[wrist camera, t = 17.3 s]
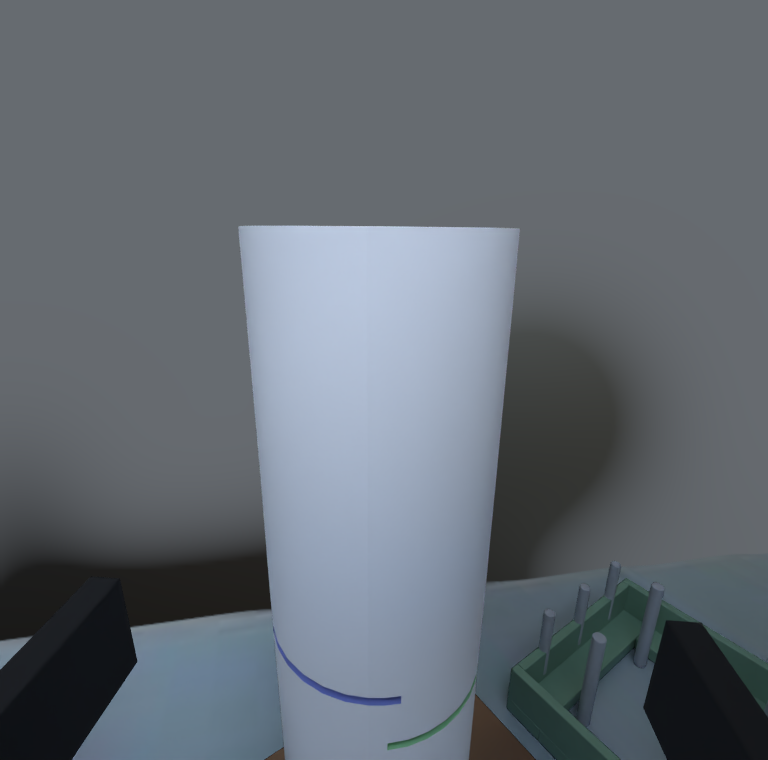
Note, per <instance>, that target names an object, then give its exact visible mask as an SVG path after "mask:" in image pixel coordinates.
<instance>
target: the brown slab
mask: <svg viewBox="0 0 768 760" xmlns="http://www.w3.org/2000/svg"><path fill="white" fill-rule="evenodd" d="M265 760H285V754H284V747H283V748H281V749H280V750H278V751H277V752H275V753H274V754H272V755H271V756H269V757H268V758H266V759H265ZM469 760H536V759H535V758H534V757H533V756H532V755H531V754H530V753H529V752H528V751H527V750H526V748H525V747H524V746H523V745H522V744H521V743H520V742H519V741H518V740H517V739H516V738H515V737H514V735H513V734H512V733H511V732H510V731H509V730H508V729H507V728H506V727H505V726H504V725H503V723H502V722H501V721H500V720H499V719H498V718H497V717H496V716H495V715H494V714H493V713H492V712H491V710H490V709H489V708H488V707H487V706H486V705H485V704H484V703H483V702H482V701H481V700H480V698H479V697H478V696H477V695H476V694H475V700H474V711H473V721H472V732H471V742H470V752H469Z"/></svg>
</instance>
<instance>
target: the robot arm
mask: <svg viewBox="0 0 768 760" xmlns="http://www.w3.org/2000/svg"><path fill="white" fill-rule="evenodd" d="M136 663H137V658H136V653H135V648H134V643H133V639H132V634H131V629H130V625H129V620H128V615H127V611H126V606H125V601H124V597H123V591H122V587H121V582H120V579H117V578H104V577H90V578H89V579H88V580H87V581H86V582H85V583H84V584H83V585H82V586H81V587H80V589H79V590H77V591H76V593H75V594H74V595H73V596H72V597H71V598H70V599H69V600H68V601H67V602H66V603H65V604H64V605H63V606H62V607H61V608H60V609H59V610H58V611H57V612H56V613H55V614H54V615H53V616H52V617H51V618H50V619H49V620H48V621H47V622H46V623H45V624H44V626H42V628H41V629H40V630H39V631H38V632H37V633H36V634H35V635H34V636H33V637H32V638H31V639H30V640H29V641H28V642H27V643H26V644H25V645H24V646H23V647H22V648H21V649H20V650H19V651H18V652H17V653H16V654H15V655H14V656H13V657H12V658H11V659H10V660H9V661H8V662H7V664H6V665H5V666H4V667H3V668H2V669H1V670H0V760H72V758H73V757H74V755H75V754H76V752H77V751H78V749H79V748H80V746H81V745H82V743H83V742H84V740H85V739H86V737H87V736H88V734H89V733H90V731H91V730H92V728H93V727H94V725H95V724H96V722H97V721H98V720H99V718H100V717H101V715H102V714H103V712H104V711H105V709H106V708H107V706H108V705H109V703H110V702H111V700H112V699H113V697H114V696H115V694H116V693H117V691H118V690H119V688H120V687H121V685H122V684H123V682H124V681H125V679H126V678H127V676H128V675H129V673H130V672H131V670H132V669H133V667H134V666H135V664H136ZM643 708H644V710H645V712H646V715H647V717H648V719H649V721H650V723H651V725H652V728H653V730H654V732H655V734H656V736H657V739H658V741H659V743H660V745H661V747H662V750H663V752H664V754H665V756H666V758H667V760H768V717H767V715H766V714H765V712H764V711H763V710H762V708H761V707H760V705H759V704H758V702H757V701H756V700H755V698H754V697H753V695H752V694H751V692H750V691H749V690H748V688H747V687H746V685H745V684H744V682H743V681H742V680H741V678H740V677H739V675H738V674H737V673H736V671H735V670H734V668H733V667H732V665H731V664H730V663H729V661H728V660H727V658H726V657H725V655H724V654H723V653H722V651H721V650H720V648H719V647H718V646H717V644H716V643H715V641H714V640H713V638H712V637H711V636H710V634H709V633H708V631H707V630H706V628H705V627H704V626H703V624H702V623H699V622H686V621H672V620H666V622H665V626H664V630H663V634H662V638H661V642H660V645H659V649H658V653H657V657H656V661H655V665H654V669H653V672H652V676H651V680H650V684H649V688H648V692H647V696H646V700H645V703H644V707H643Z"/></svg>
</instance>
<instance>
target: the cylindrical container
mask: <svg viewBox="0 0 768 760" xmlns="http://www.w3.org/2000/svg"><path fill="white" fill-rule="evenodd" d="M238 230H239V241H240V252H241V263H242V275H243V286H244V297H245V308H246V320H247V331H248V342H249V353H250V365H251V375H252V387H253V398H254V410H255V421H256V431H257V442H258V453H259V466H260V478H261V488H262V502H263V513H264V525H265V537H266V548H267V561H268V571H269V584H270V596H271V608H272V620H273V631H274V642H275V654H276V665H277V676H278V687H279V698H280V710H281V721H282V732H283V743H284V754H285V760H469V752H470V742H471V732H472V721H473V711H474V700H475V690H476V679H477V669H478V658H479V649H480V639H481V629H482V619H483V608H484V598H485V587H486V577H487V566H488V556H489V546H490V535H491V524H492V515H493V504H494V494H495V483H496V473H497V462H498V452H499V442H500V432H501V421H502V411H503V401H504V390H505V380H506V369H507V358H508V348H509V338H510V328H511V317H512V307H513V296H514V286H515V276H516V265H517V255H518V244H519V234H520V229H518V228H472V227H387V226H386V227H385V226H383V227H382V226H239V227H238Z"/></svg>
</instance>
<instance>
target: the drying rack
mask: <svg viewBox="0 0 768 760" xmlns="http://www.w3.org/2000/svg"><path fill="white" fill-rule="evenodd" d="M620 569H621V564H620V563H619V562H617V561H612V562H611V564H610V569H609V574H608V579H607V584H606V589H605V594H604V596H603V597H602V598H600V599H599V600H598V601H596V602H595V603H594V604H593V605H591V606H590V607H589V608H588V609H587V605H588V600H589V595H590V586H589V585H587V584H584V583H582V584H580V587H579V592H578V598H577V604H576V609H575V615H574V620H572V621H571V622H570V623H569V624H567V625H566V626H565V627H563V628H562V629H561V630H560V631H558V632H557V633H556V634H555V635H553V636H552V634H553V627H554V621H555V612H554V611H553V610H551V609H545V610H544V616H543V622H542V629H541V636H540V642H539V647H538V648H537V649H536V650H534V651H533V652H532V653H531V654H529V655H528V656H527V657H525V658H524V659H523V660H522V661H520V662H519V663H518V664H517V665H515V666H514V667H513V668H512V669H511V677H510V685H509V692H508V700H507V709H508V710H509V711H510V712H511V713H512V714H513V715H514V716H515V717H516V718H517V719H518V720H519V721H520V722H521V723H522V724H523V725H524V726H525V727H526V729H527V730H528V731H529V732H530V733H531V734H532V735H533V736H534V737H535V738H536V739H537V740H538V739H539V742H540V743H541V744H542V745H543V746H544V747H545V748H546V749H547V750H548V751H549V752H550V753H551V754H552V755H553V757H554V758H555V759H556V760H621V759H619V758H618V757H617V756H616V755H615V754H614V753H613V752H612V751H611V750H610V749H609V748H608V747H607V746H605V745H604V744H603V743H602V742H601V741H600V740H599V739H598V738H597V737H596V736H595V735H594V734H592V733H591V732H590V731H589V730H588V729H587V728H586V727H587V726H588V725H589V724H590V719H591V714H592V709H593V705H594V700H595V695H596V690H597V685H598V681H600V680H601V679H602V678H603V677H604V676H605V675H606V674H607V673H608V672H609V671H610V670H611V669H612V668H613V667H614V666H615V665H616V664H617V663H618V662H619V661H620V660H621V659H622V658H623V657H624V656H625V655H626V654H627V653H629V652H630V651H631V650H632V649H633V648H634V649H636V651H635V655H634V660H633V661H634V663H635V665H636V666H638V667H640V668H644V667H645V666H646V662H647V658H648V659H650V660H651V661H652V662H654V663H655V661H656V657H657V653H658V649H659V645H660V642H661V638H662V634H663V630H664V626H665V622H666V620H672V621H686V622H698V621H697V620H695V619H693V618H692V617H690V616H688V615H687V614H685V613H683V612H682V611H680V610H678V609H677V608H675V607H673V606H672V605H670V604H668V603H667V602H665V601H663V600H662V598H663V594H664V590H665V588H664V586H663V585H662V584H660V583H657V582H653V583H652V584H651V588H650V592H649V591H647V590H645V589H644V588H642V587H640V586H639V585H637V584H635V583H634V582H632V581H630V580H629V579H627V578H626V579H624V580H623V581H622V582H621V583H619V584H618V585H617V583H618V579H619V574H620ZM699 623H700V622H699ZM703 626H704V627H705V628H706V630H707V631H708V633H709V634H710V636H711V637H712V638H713V640H714V641H715V643H716V644H717V646H718V647H719V648H720V650H721V651H722V653H723V654H724V655H725V657H726V658H727V660H728V661H729V663H730V664H731V665H732V667H733V668H734V670H735V671H736V673H737V674H738V675H739V677H740V678H741V680H742V681H743V682H744V684H745V685H746V687H747V688H748V690H749V691H750V692H751V694H752V695H753V697H754V698H755V700H756V701H757V702H758V704H759V705H760V707H761V708H762V710H763V711H764V712H765V714H766V715H767V717H768V663H766V662H764V661H763V660H761V659H759V658H758V657H756V656H755V655H753V654H751V653H750V652H748V651H746V650H745V649H743V648H741V647H740V646H738V645H736V644H735V643H733V642H731V641H730V640H728V639H726V638H725V637H723V636H721V635H720V634H718V633H716V632H715V631H713V630H711V629H710V628H708V627H706V626H705V625H703ZM578 701H579V705H578V710H577V716H576V718H575V717H574V716H573V715H572V714H571V713H570V712H569V711H568V710H570V709H571V708H572V707H573V706H574V705H575V704H576V703H577V702H578Z"/></svg>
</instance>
